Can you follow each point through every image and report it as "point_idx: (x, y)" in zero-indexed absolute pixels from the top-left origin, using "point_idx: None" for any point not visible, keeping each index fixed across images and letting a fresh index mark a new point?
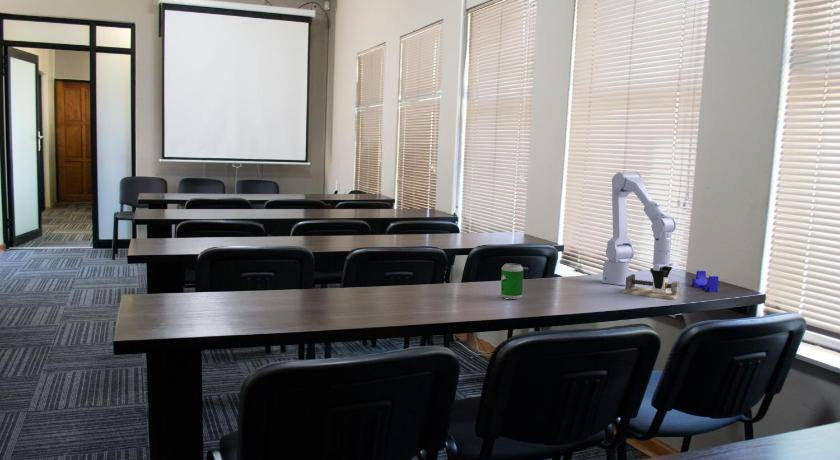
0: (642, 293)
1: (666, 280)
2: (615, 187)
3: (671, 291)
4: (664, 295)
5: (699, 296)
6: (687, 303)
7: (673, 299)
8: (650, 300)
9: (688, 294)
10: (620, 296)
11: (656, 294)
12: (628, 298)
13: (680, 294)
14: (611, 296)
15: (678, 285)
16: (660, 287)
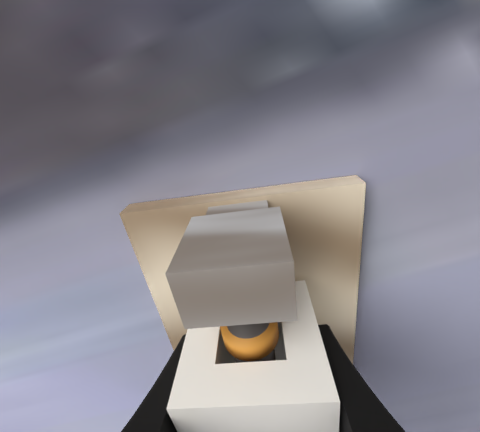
0: (351, 362)
1: (232, 380)
2: None
3: (161, 268)
4: (348, 258)
5: (32, 48)
6: (454, 10)
7: (356, 180)
8: (467, 284)
9: (56, 162)
10: (430, 402)
11: (347, 304)
12: (465, 371)
13: (129, 205)
14: (452, 422)
15: (205, 244)
16: (333, 337)
